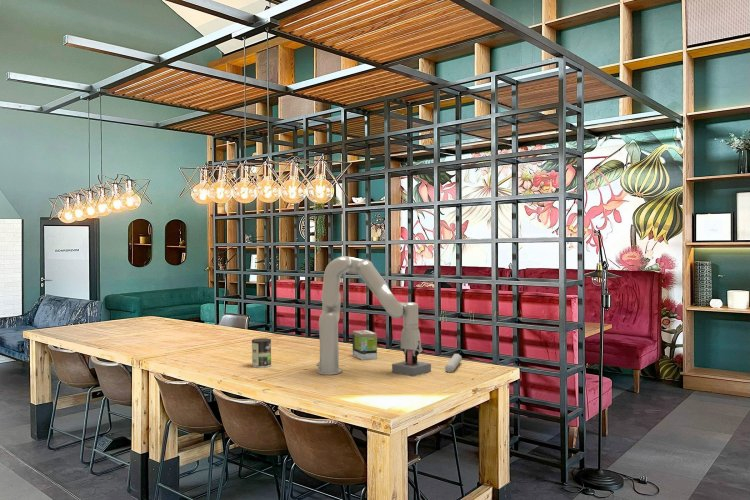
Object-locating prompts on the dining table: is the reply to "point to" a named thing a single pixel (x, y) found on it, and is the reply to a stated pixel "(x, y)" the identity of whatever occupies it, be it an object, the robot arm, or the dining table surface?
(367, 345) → the tea box
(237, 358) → the dining table surface
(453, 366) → the tube
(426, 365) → the socket block
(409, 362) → the peg
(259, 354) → the coffee can
